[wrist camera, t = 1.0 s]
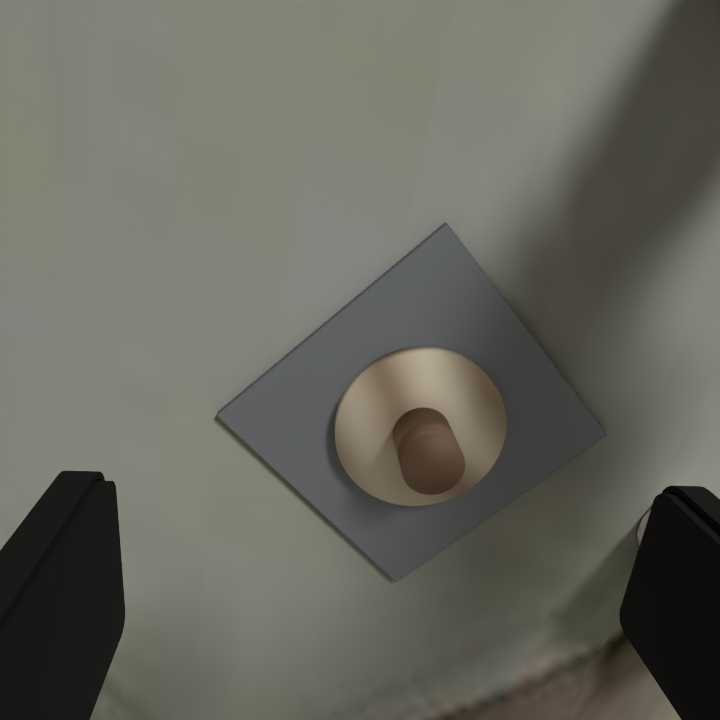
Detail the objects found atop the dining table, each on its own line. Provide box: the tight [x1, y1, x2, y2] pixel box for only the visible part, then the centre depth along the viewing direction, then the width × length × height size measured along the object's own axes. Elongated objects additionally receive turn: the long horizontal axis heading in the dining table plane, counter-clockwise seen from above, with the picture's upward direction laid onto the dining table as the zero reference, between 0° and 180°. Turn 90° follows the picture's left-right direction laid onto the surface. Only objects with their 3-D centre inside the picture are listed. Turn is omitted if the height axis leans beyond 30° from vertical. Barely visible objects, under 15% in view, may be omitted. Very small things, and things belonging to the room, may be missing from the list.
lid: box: [335, 346, 507, 506], centre depth 37 cm, size 12×12×6 cm
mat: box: [217, 222, 607, 582], centre depth 40 cm, size 20×20×1 cm
